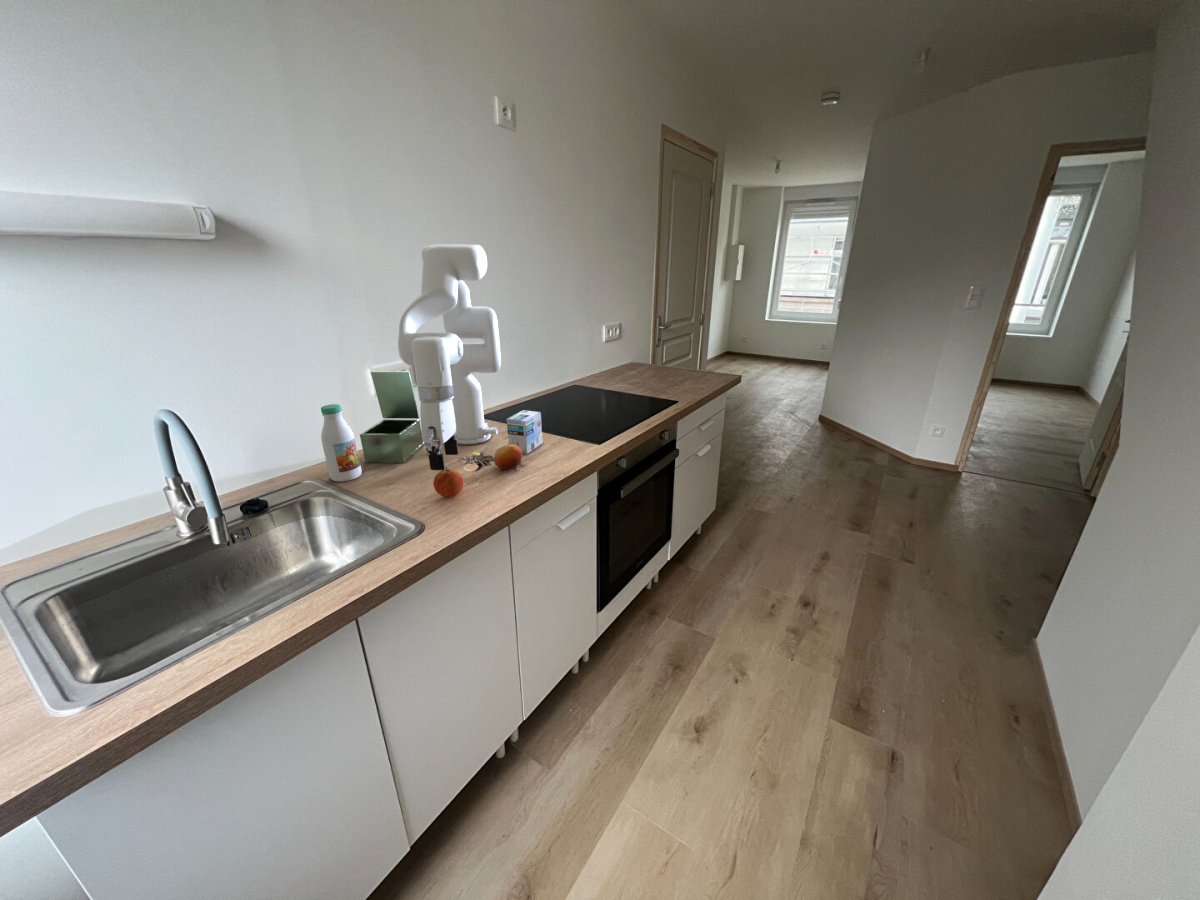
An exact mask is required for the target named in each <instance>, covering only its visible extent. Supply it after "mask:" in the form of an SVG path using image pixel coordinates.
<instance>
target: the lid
mask: <svg viewBox="0 0 1200 900" xmlns="http://www.w3.org/2000/svg"><path fill="white" fill-rule="evenodd" d="M370 375H371V379H372V383H373V387H374V390H375V394H376V398H377V402H378V405H379V409H380V414H381V416H382V419H419V420H420V419H421V417H420V412H419V408H418V404H417V400H416V395H415V394H416V393H415V389H414V385H413V380H412V377H411V372H410V371H408V370H406V371H405V370H387V371H385V370H384V371H383V370H376V371H375V370H371V371H370Z"/></svg>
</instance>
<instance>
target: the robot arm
mask: <svg viewBox="0 0 1200 900" xmlns="http://www.w3.org/2000/svg"><path fill="white" fill-rule="evenodd" d="M421 259H422V273H421V274H422V275H421V292H420V293H421V294H420V295H419V296H418V297H416V299H414V300H413V302H411V304H410V305H409V306H408V307H407V308H406V309H405V310H404V312H403V313H402V315H401V317H400V320H399V324H398V325H399V326H398V338H397V349H398V355H399V357H400V360H401V361H402V362H403V363H404V364H406V365H408V366H413V367H414V374H415V379H416V387H417V393H418V399H419V402H420V405H419V406H420V407H419V411H420V412H419V417H420V426H421V432H422V439H423V445H424V446H425V450H426V452H427V456H428V460H429V469H430V470H431V471H442V470H444V469H446V466H445V457H444V454H445V456H458V455H459V447H458V445H476V444H480V443H485V442H487V441H488V440H489V439H491V436H492V435H494V436H495V435H496V436H497V435H498V434H499V431H498V428H496V426H495V427H494V426H493V427H489V426H488V423H487V422H485V415H484V405H483V404H484V403H483V394H482V387H481V384H480V382H479V381H478V380H477V378H476V377H475V376H474V375H473V374H494V373H498V372H499V370H501V366H502V355H501V343H500V333H499V332H500V331H499V324H498V318H497V314H496V312H495V310H494V309H493V308H491V307H489V306H482V305H481V306H480V305H479V306H473V305H472V303H471V296H470V289H469V287H468V285H467V284H466V283H465V281H466V282H467V281H480V280H482V278H483V277H484V276H485V275H486V273H487V269H488V259H487V254H486V252H485V250H484V248H483V246H481V244H472V243H471V244H467V243H466V244H464V243H463V244H461V243H459V244H457V243H455V244H454V243H453V244H452V243H435V244H430V245H426V246H424V247H423V248H422V250H421ZM441 316H442V320H443V327H444V330H445V331H444V332H417V331H418V330H419V329H420V327H421V326H423V325H424V324H425V323H428V322H429V321H432V320H434V319H436V318H438V317H441ZM466 339H467V340H468V339H469V340H470V339H471V340H472V339H476V340H477V339H481V340H483V341H484V342H462V340H466ZM443 448H444V453H442V449H443Z"/></svg>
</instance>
